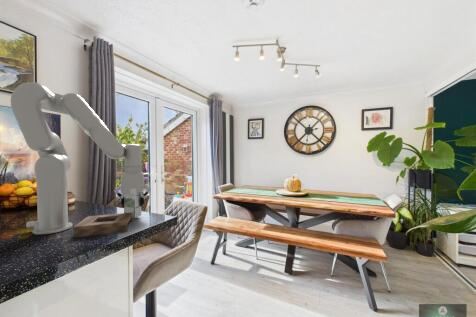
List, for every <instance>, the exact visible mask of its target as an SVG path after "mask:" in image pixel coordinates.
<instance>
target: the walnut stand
mask: <svg viewBox="0 0 476 317" xmlns="http://www.w3.org/2000/svg"><path fill="white" fill-rule="evenodd" d="M133 222H134V218H133V213H124V212H123V213H121V212H120V213H113V214H112V213H110V214H99V215H87V216H86V217H85V218H84V219H82V220H81V221H79V222H78V223H77V224H75V225H74V226H72V230H73V231H72V232H73V233H72V235H73V238H81V237H83V238H84V237H93V236H101V235H110V234H120V233H127V232H128V231H129V229H128V228H129V227H128V225H129V223H133Z"/></svg>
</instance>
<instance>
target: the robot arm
mask: <svg viewBox="0 0 476 317" xmlns="http://www.w3.org/2000/svg"><path fill="white" fill-rule="evenodd" d="M10 107H11V111H12V112H13V115H14V117H15V120H16V122H17V124H18V127H19V129H20V132H21V133H22V136H23V137H24V140H25V143H26V145H27V147H28V148H29V149H30V150H33V151H34V152H37V154H38V156H39V158H37V160H35V163H34V176H35V182H36V200H37V201H36V202H37V203H36V207H37V208H36V209H37V210H36V211H37V220H35V221H33V220H32V221H27V222H26V223H25V224H26V225H25V226H26V228H33V229H32V234H33V235H40V236H41V235H49V234H54V233H55V234H56V233H60V232H64V231H67V230H68V229H71V228H73V222H69V215H68V214H69V213H68V210H69V209H68V181H67V172H68V171H70V169H71V160H70V157H69V154H68V153H67V151H66V147H65V145H64V143H63V141H62V139H61V137H60V136H59V135H58V134H57V133H55V132H53V131H52V130H51V128H50V126H49V124H48V122H47V119H46V117H45V115H44V113H43V111H42V110H45V111H49V112H54V113H58V114H63V115H67V116H69V117H71V118H72V119H73V121H74V122H75V123H76V124H77V125H78V127H79V128H80V129H81V130H82V131H83V132H84V133H85V134H86V135H87V136H88V137H89V138H90V139H91V140H92V141H93V142H94V143H95V144H96V145H97V146H98V147H99V149H100V150H101V151H102V152H103V153H104V155H106V156H107V157H108V158H109V159H112V160H120V159H121V160H122V159H124V166H121V167H120V170H121V171H123V172H122V174H121V179H120V185H119V186H118V187H116V188H115V189H114V190H113V192H114V193H115V194H116V196H117V197H119V198H120V201H121V202H120V205H121V206H122V208H124V194H129V193H130V189H132V188H136V193H139V194H140V195H141V198H140V206H141V207H143V205H145V197H146V196H147V195H148V194H149V193H150V192H151V189H152V188H150V187H149V186H147V185H146V183H145V175H144V172H143V171H142V170H143V167H142V163H143V161H142V160H143V154H142V152H143V148H142V145H141V144H133V143H130V144H129V143H127V144H121V142H120V141H119V140H118V139H117V137H116V136H114V134H113V133H112V132H111V131H110V130H109V128H108V127H107V125H106V123H104V122H103V120H102V119H101V118H100V116H98V114H97V113H96V112H95V111H94V110H93V108H92V107H90V105H89V104H88V103H87V102H86V101H85V99H84V98H83V97H81V95H79V94H77V93H75V92H69V93H66V94H60V93H55V92H52V91H51V90H50V89H49V88H47V87H46V86H45V85H43V84H42V83H39V82H34V81H27V82H23V83H21V84H19V85H18V86H17V87H16V88H15V89H14V90H13V91H12V94H11V96H10ZM119 190H120V191H119ZM145 190H146V191H145ZM144 191H145V192H144Z"/></svg>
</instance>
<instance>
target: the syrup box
mask: <svg viewBox="0 0 476 317" xmlns="http://www.w3.org/2000/svg"><path fill="white" fill-rule="evenodd" d="M140 198H141V195H140V194H139V193H136V188H132V189H130V193H129V194H124V207H123V213H133V219H137V218H139V217H141V216H142V206H140Z"/></svg>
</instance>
